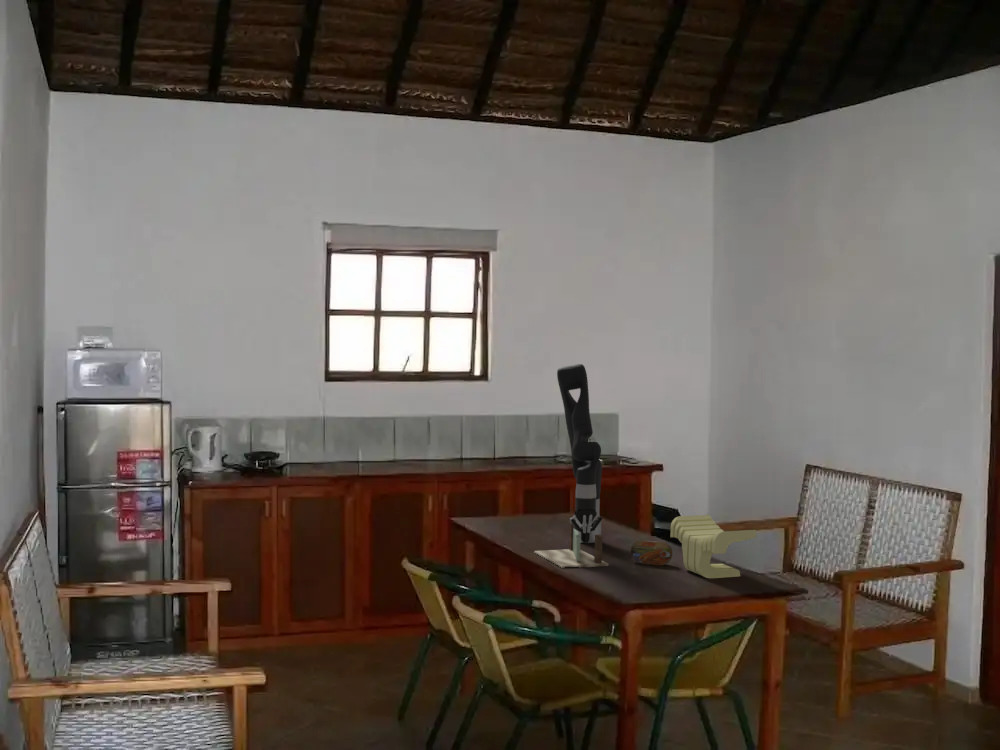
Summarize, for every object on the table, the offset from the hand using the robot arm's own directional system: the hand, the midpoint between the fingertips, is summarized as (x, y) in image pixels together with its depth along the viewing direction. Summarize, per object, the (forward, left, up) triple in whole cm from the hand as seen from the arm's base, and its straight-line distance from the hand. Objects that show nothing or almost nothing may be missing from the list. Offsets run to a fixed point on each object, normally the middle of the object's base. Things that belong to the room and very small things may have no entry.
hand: (585, 542), depth 402 cm
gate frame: (+5, -1, -6) cm, 8 cm away
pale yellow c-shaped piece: (-34, +33, -6) cm, 47 cm away
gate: (+3, -2, -5) cm, 6 cm away
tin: (-21, +13, -6) cm, 25 cm away
